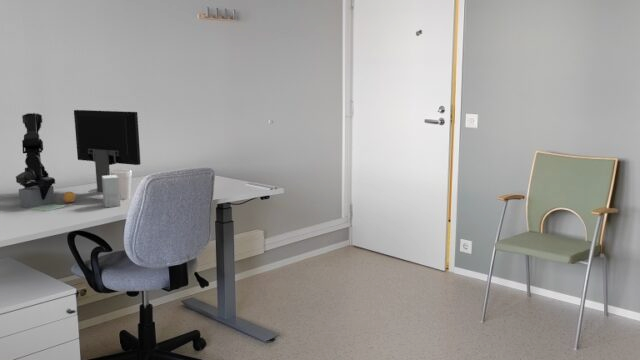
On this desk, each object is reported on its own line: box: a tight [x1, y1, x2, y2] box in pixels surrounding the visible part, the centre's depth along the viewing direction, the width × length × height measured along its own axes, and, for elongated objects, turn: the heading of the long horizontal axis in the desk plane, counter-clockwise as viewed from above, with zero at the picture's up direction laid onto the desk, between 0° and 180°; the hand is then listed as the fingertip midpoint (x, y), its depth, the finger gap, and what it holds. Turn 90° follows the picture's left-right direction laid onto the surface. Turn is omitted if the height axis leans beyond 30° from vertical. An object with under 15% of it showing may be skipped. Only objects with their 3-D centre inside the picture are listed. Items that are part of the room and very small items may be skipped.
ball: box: [62, 191, 76, 203], centre depth 279 cm, size 5×5×5 cm
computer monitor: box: [73, 109, 142, 194], centre depth 299 cm, size 41×8×40 cm, turn 63°
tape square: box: [30, 203, 66, 212], centre depth 269 cm, size 10×10×1 cm
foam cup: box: [110, 169, 133, 201], centre depth 286 cm, size 10×9×13 cm
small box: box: [102, 174, 121, 208], centre depth 272 cm, size 8×6×13 cm
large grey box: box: [18, 185, 56, 209], centre depth 275 cm, size 8×12×8 cm, turn 154°
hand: (37, 198), depth 275 cm, fingers closed on large grey box, 8 cm apart
